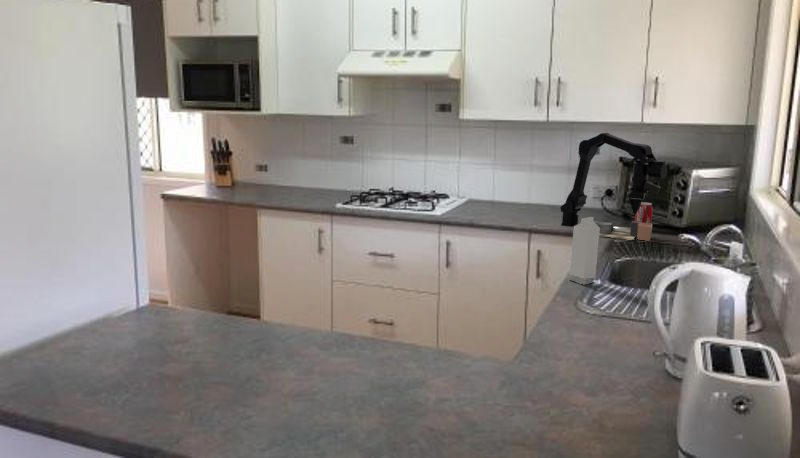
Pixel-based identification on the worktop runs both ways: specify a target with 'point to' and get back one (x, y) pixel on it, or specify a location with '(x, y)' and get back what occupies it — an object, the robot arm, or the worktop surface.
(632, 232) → the hammer
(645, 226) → the socket block
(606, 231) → the sleeve mount
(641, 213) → the soda can
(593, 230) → the milk
